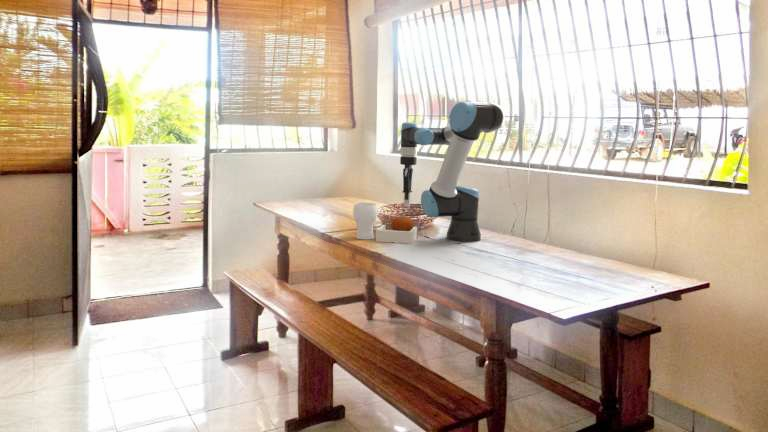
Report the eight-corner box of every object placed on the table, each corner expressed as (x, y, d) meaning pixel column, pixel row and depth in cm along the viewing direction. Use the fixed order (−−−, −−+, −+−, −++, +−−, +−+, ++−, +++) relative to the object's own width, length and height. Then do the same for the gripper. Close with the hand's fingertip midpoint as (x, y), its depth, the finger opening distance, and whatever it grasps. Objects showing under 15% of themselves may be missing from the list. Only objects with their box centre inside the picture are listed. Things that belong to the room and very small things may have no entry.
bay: (383, 234, 283) (383, 219, 282) (417, 237, 280) (418, 221, 279) (375, 241, 268) (375, 225, 267) (411, 243, 265) (412, 227, 264)
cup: (374, 241, 269) (374, 206, 267) (350, 239, 271) (350, 205, 269) (379, 236, 279) (380, 203, 277) (356, 235, 281) (356, 201, 279)
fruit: (418, 234, 286) (419, 217, 285) (400, 236, 280) (400, 219, 279) (404, 231, 295) (405, 214, 293) (386, 232, 289) (387, 215, 288)
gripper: (403, 154, 299) (401, 203, 302) (398, 156, 286) (396, 207, 290) (418, 155, 297) (416, 204, 301) (414, 157, 284) (412, 208, 288)
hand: (406, 206), depth 295 cm, fingers closed
